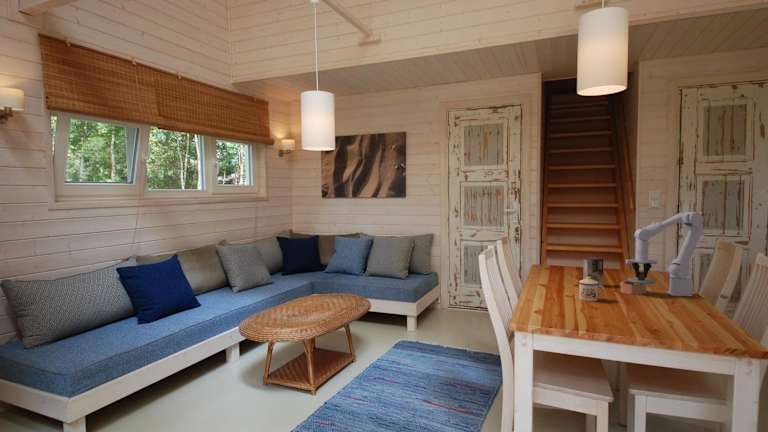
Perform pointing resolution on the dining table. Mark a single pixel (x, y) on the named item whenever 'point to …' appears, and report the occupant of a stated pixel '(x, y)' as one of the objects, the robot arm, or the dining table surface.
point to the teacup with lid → (589, 289)
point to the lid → (641, 279)
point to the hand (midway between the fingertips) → (641, 277)
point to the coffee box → (593, 269)
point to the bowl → (633, 288)
